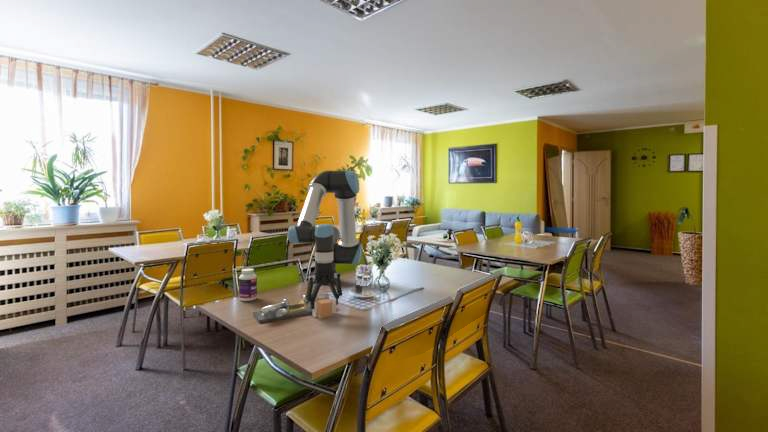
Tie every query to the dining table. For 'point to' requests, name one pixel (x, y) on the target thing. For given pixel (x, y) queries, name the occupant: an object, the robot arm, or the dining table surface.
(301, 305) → the board
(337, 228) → the robot arm
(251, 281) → the pill bottle
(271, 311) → the shaft
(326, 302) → the block
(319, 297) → the shaft
